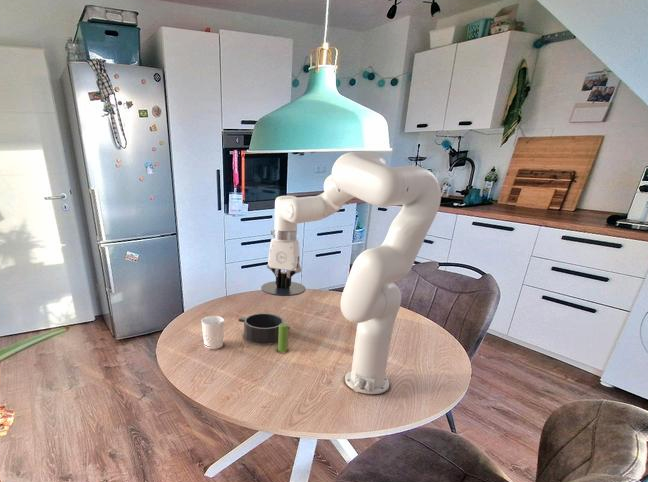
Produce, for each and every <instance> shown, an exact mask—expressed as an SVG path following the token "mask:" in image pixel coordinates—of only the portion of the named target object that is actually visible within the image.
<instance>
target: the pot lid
mask: <svg viewBox="0 0 648 482" xmlns="http://www.w3.org/2000/svg"><path fill="white" fill-rule="evenodd" d="M286 276H287V271H281V272H280V287H279V288H277V285H276V280H273V281H268V282H265V283H264V284H262V285H261V287H260V290H261V291H262V292H263V293H265V294H267V295H271V296H277V297H294V296H298V295H302V294H303V293H305V292H306V286H304V284H302V283H299V282H295V281H291V286H290V287H289V288H288V289H285V278H286Z"/></svg>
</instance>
